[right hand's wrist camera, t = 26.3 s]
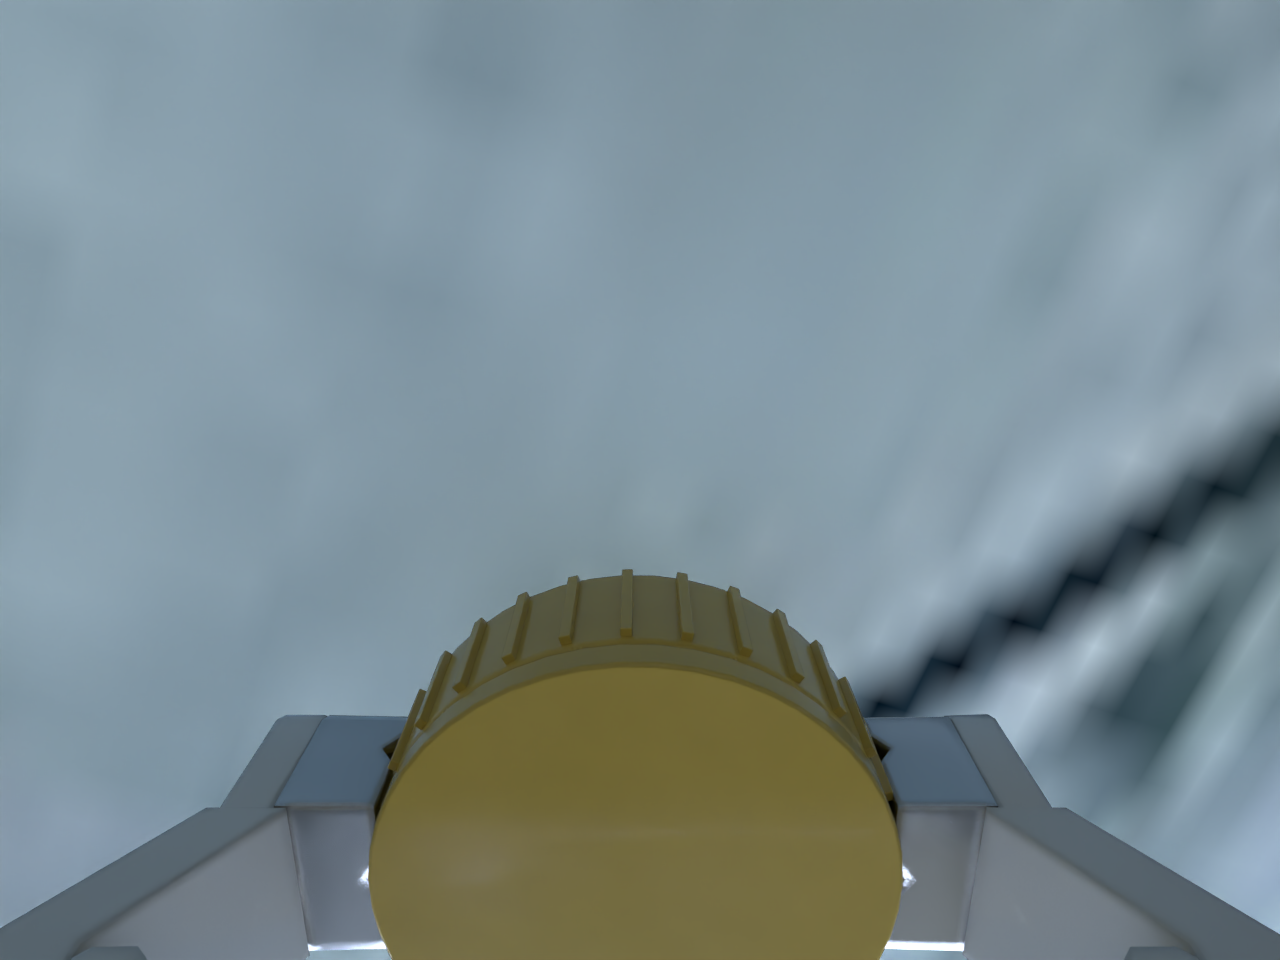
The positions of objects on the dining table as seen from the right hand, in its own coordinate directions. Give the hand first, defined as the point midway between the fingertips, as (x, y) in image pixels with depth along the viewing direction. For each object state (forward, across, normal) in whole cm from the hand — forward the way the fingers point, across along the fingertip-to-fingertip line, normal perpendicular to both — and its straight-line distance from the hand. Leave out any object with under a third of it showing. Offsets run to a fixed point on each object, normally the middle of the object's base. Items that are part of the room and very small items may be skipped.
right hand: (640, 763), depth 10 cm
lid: (-2, 0, 0) cm, 2 cm away
